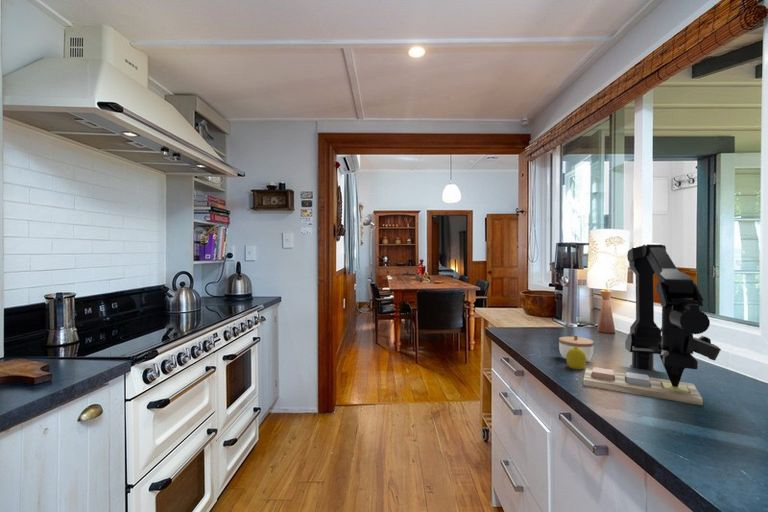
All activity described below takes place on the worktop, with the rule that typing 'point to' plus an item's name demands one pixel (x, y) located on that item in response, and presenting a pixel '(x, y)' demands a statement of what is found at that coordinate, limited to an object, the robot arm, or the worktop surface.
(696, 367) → the robot arm
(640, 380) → the grey button
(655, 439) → the worktop surface
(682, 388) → the yellow button
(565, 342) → the lidded jar
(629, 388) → the button board
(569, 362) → the lemon
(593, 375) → the clay button
